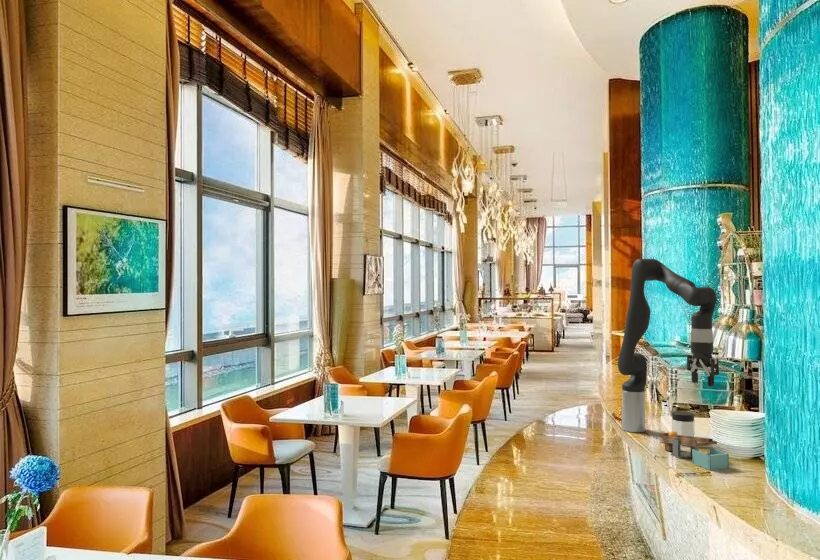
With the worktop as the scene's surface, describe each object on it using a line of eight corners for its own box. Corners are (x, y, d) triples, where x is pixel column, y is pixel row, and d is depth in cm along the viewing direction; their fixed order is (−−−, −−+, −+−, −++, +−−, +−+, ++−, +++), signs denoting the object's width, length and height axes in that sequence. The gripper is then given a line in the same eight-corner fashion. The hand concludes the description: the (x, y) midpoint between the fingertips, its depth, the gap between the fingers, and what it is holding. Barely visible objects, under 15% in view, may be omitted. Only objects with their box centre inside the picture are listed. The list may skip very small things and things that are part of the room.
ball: (668, 440, 235) (665, 432, 237) (675, 439, 236) (672, 431, 237) (673, 438, 232) (670, 430, 234) (680, 438, 233) (678, 429, 235)
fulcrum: (670, 455, 230) (670, 437, 230) (691, 452, 232) (691, 435, 232) (679, 458, 225) (679, 441, 225) (700, 456, 227) (700, 439, 227)
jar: (690, 440, 250) (689, 410, 250) (699, 445, 242) (699, 415, 241) (667, 440, 250) (667, 410, 250) (676, 445, 242) (676, 415, 242)
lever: (664, 450, 236) (662, 433, 237) (686, 448, 238) (684, 431, 239) (696, 455, 218) (694, 436, 219) (720, 452, 221) (717, 434, 222)
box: (692, 463, 219) (692, 449, 219) (710, 461, 221) (710, 447, 221) (709, 470, 211) (709, 455, 211) (728, 468, 213) (728, 453, 213)
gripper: (680, 339, 235) (681, 382, 235) (707, 342, 221) (708, 388, 221) (697, 338, 237) (697, 381, 237) (724, 341, 223) (725, 387, 223)
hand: (702, 384), depth 229 cm, fingers open, 7 cm apart
